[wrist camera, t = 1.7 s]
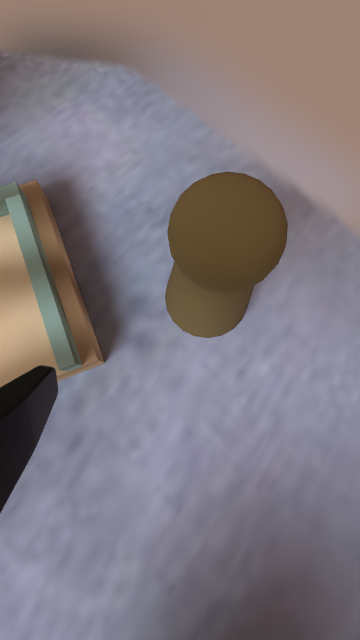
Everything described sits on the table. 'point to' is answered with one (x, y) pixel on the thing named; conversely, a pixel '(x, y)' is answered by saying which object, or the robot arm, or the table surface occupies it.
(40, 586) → the table surface
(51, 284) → the dock
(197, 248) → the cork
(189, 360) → the table surface
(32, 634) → the table surface
